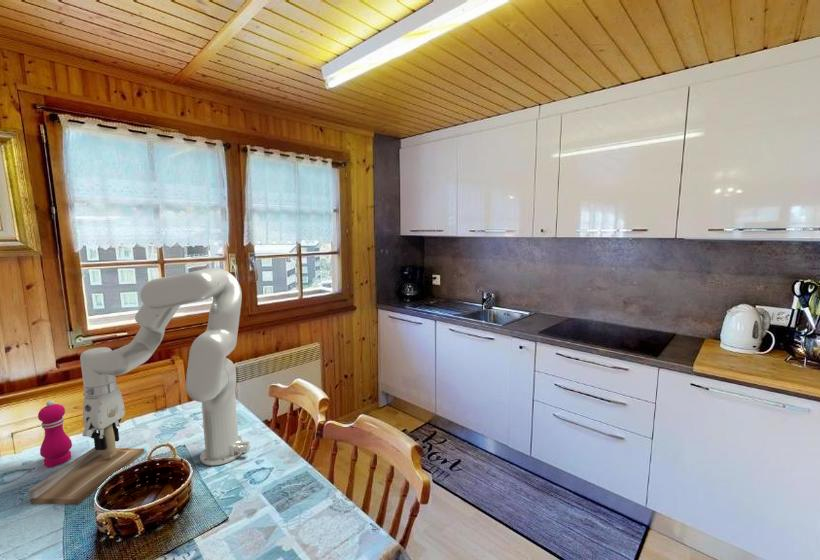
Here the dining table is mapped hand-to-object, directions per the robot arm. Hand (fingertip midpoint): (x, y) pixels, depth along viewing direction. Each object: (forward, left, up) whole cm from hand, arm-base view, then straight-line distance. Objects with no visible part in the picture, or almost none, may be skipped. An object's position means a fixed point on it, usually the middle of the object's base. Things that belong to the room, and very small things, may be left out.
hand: (107, 444), depth 114 cm
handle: (0, 0, -4) cm, 4 cm away
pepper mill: (+17, 0, -6) cm, 18 cm away
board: (-1, +7, -6) cm, 9 cm away
